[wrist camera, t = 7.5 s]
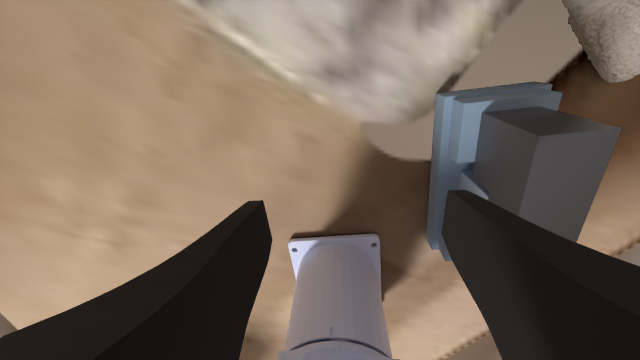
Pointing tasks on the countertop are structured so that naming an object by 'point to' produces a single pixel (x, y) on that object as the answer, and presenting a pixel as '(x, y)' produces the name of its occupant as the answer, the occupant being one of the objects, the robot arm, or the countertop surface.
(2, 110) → the countertop surface
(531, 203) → the dark grey rectangular block
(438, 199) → the display stand
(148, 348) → the robot arm
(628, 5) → the washcloth
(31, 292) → the countertop surface
